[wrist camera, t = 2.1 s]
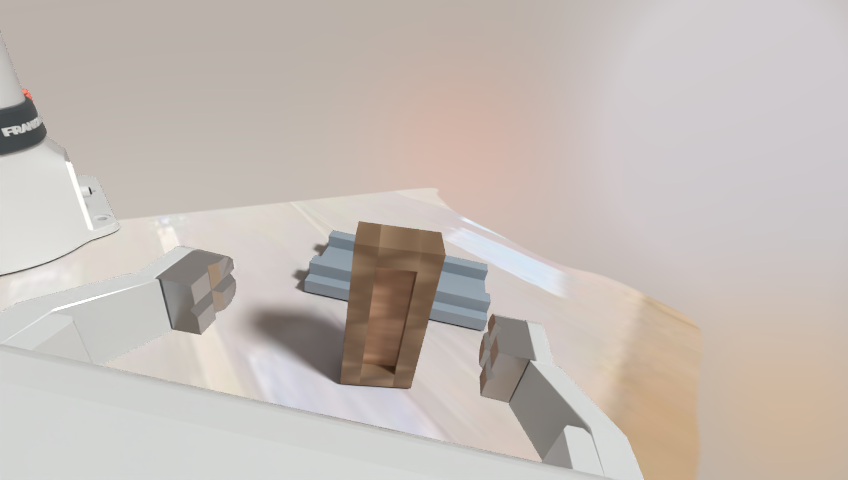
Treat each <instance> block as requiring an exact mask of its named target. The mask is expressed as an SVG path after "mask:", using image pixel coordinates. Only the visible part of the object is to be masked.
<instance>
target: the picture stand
mask: <svg viewBox="0 0 848 480" xmlns="http://www.w3.org/2000/svg"><path fill="white" fill-rule="evenodd" d="M355 237H356V235H352V234H348V233H343V232H339V231H334V230H333V231H332V232H331V234H330V235H329V244H328V247H327V249H326V250H325V252H324V253H323V255H322V256H317V255H315V256H314V257H313V258H312V260H311V261H310V265H309V275H308V276H307V277H306V279H305V288H304V291H307V292H311V293H316V294H320V295H325V296H329V297H334V298H338V299H343V300H347V301H348V299H349V289H350V279H351V269H352V259H353V249H354V242H355ZM487 272H488V269H487V264H483V263H479V262H474V261H470V260H465V259H461V258H456V257H451V256H447V255H446V256H445V260H444V264H443V268H442V271H441V275H440V279H439V283H438V286H437V290H436V294H435V298H434V302H433V305H432V309H431V313H430V317H429V319H433V320H437V321H442V322H446V323H451V324H455V325H460V326H464V327H469V328H473V329H478V330H482V331H483V330H484V328H485V325H486V322H487V310H488V308H489V305H490V294H488V293H485V283H484V280H485V277H486V275H487Z"/></svg>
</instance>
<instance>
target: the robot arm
mask: <svg viewBox="0 0 848 480" xmlns="http://www.w3.org/2000/svg"><path fill="white" fill-rule="evenodd" d="M46 133H47V132H46V128H45V126H44V124H43V122H42V117H41V115H40V113H39V111H38V110H37V109H36V108H35V106H34V104H33V101H32V98H31V96H30V93H29V92H28V90H27V89H22V88H21V86H20V83H19V80H18V78H17V75H16V72H15V69H14V67H13V64H12V61H11V59H10V56H9V53H8V51H7V48H6V45H5V43H4V40H3V38H2V35H1V32H0V275H2V274H7V273H11V272H15V271H19V270H23V269H27V268H30V267H33V266H37V265H40V264H43V263H46V262H48V261H51V260H54V259H56V258H58V257H61V256H63V255H65V254H67V253H69V252H71V251H73V250H74V249H76V248H78V247H79V246H81V245H83V244H85V243H86V242H88V241H90V240H93V239H96V238H99V237H102V236H105V235H108V234H111V233H113V232H115V231H117V230H118V229H119V224H118V222H117V220H116V218H115V216H114V213H113V211H112V209H111V207H110V205H109V202H108V200H107V198H106V196H105V194H104V192H103V189H102V187H101V185H100V183H99V181H98V179H97V178H94V177H89V176H82V175H75V172H74V169H73V166H72V163H70V160H69V158H68V155H67V152H66V150H65V149H64V148H63V147H61V146H60V145H58V144H57V143H56V142H54V141H53V140H52V139H50V138H49V137H47V136H46ZM233 269H234V265H233V259H231V258H230V257H228V256H224V255H220V254H216V253H212V252H207V251H203V250H199V249H194V248H190V247H185V246H177V247H175V248H174V249H172V250H171V251H169V252H168V253H166V254H165V255H163V256H162V257H160V258H159V259H157V260H156V261H154V262H153V263H151V264H150V265H149V266H147V267H146V268H144V269H143V270H141V271H140V272H138V273H137V274H131V273H129V274H125V275H121V276H118V277H114V278H110V279H106V280H102V281H99V282H95V283H91V284H87V285H83V286H79V287H76V288H72V289H68V290H64V291H60V292H56V293H53V294H49V295H45V296H41V297H37V298H34V299H30V300H26V301H22V302H18V303H16V304H14V305H12V306H10V307H8V308H7V309H5V310H3V311H1V312H0V480H644V478H643V475H642V473H641V471H640V468H639V466H638V463H637V461H636V458H635V456H634V453H633V451H632V449H631V446H630V444H629V441H628V439H627V437H626V436H625V435H624V434H623V433H622V431H621V430H620V429H619V428H618V427H617V426H616V425H615V424H614V423H613V422H612V421H611V420H610V419H609V418H608V417H607V416H606V415H605V414H604V413H603V412H602V411H601V410H600V408H599V407H598V406H597V405H596V404H595V403H594V402H593V401H592V400H591V399H590V398H589V397H588V396H587V395H586V394H585V393H584V392H583V391H582V390H581V389H580V388H579V387H578V385H577V384H576V383H575V382H574V381H573V380H572V379H571V378H570V377H569V376H568V375H567V374H566V373H565V372H564V371H563V370H562V369H561V368H560V367H559V366H555V365H554V362H553V358H552V355H551V351H550V348H549V344H548V340H547V337H546V333H545V330H544V326H543V325H542V324H541V323H536V322H531V321H526V320H525V321H524V320H519V319H514V318H510V317H505V316H500V315H495V314H492V316H491V317H490V320H489V322H488V332H487V333H485V334H484V336H483V339H482V342H481V346H480V353H479V365H480V366H481V367H482V369H483V370H482V372H481V375H480V393H481V396H483V397H487V398H491V399H495V400H499V401H503V402H507V403H509V406H510V407H511V409H512V411H513V412H514V414H515V416H516V417H517V419H518V421H519V422H520V424H521V426H522V427H523V429H524V431H525V432H526V434H527V436H528V437H529V439H530V441H531V442H532V444H533V446H534V447H535V449H536V451H537V452H538V454H539V456H540V457H541V459H542V462H536V461H532V460H527V459H523V458H518V457H514V456H509V455H505V454H500V453H495V452H491V451H486V450H482V449H477V448H473V447H468V446H464V445H459V444H455V443H450V442H446V441H441V440H436V439H432V438H427V437H423V436H418V435H414V434H409V433H405V432H400V431H395V430H391V429H386V428H382V427H377V426H373V425H368V424H364V423H359V422H354V421H350V420H345V419H341V418H336V417H332V416H327V415H323V414H318V413H314V412H309V411H304V410H300V409H295V408H291V407H286V406H282V405H277V404H273V403H268V402H264V401H259V400H254V399H250V398H245V397H241V396H236V395H232V394H227V393H223V392H218V391H214V390H209V389H204V388H200V387H195V386H191V385H186V384H182V383H177V382H173V381H168V380H163V379H159V378H154V377H150V376H145V375H141V374H136V373H132V372H127V371H123V370H118V369H113V368H109V367H104V366H102V365H104V364H106V363H108V362H110V361H112V360H114V359H116V358H118V357H120V356H122V355H124V354H126V353H128V352H130V351H132V350H134V349H136V348H138V347H140V346H142V345H144V344H146V343H148V342H150V341H152V340H154V339H156V338H158V337H160V336H162V335H164V334H166V333H168V332H170V331H172V330H171V329H173V330H178V331H183V332H189V333H194V334H199V335H201V334H202V333H203V332H204V331H205V330H206V329H207V328H208V327H209V326H210V325H211V323H212V322H213V321H214V320H215V319H216V317H215V313H216V312H219V311H221V310H224V309H225V308H226V307H227V306H228V305H229V304H230V303H231V301H232V299H233V297H234V295H235V290H236V281H235V279H234V278H233V276H232V275H231V274H230V272H231V271H232V270H233Z"/></svg>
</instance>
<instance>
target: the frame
mask: <svg viewBox="0 0 848 480" xmlns="http://www.w3.org/2000/svg"><path fill="white" fill-rule="evenodd" d="M445 256H446V254H445V249H444V244H443V239H442V234H441V232H433V231H426V230H419V229H411V228H404V227H396V226H389V225H382V224H374V223H367V222H359V223H358V228H357V232H356V237H355V242H354V249H353V259H352V269H351V279H350V289H349V299H348V309H347V319H346V329H345V339H344V349H343V359H342V369H341V379H340V384H352V385H367V386H383V387H398V388H411V385H412V381H413V377H414V373H415V370H416V366H417V362H418V358H419V354H420V351H421V347H422V343H423V339H424V336H425V332H426V328H427V324H428V320H429V317H430V313H431V309H432V305H433V302H434V298H435V294H436V290H437V286H438V283H439V279H440V275H441V271H442V268H443V264H444V260H445Z"/></svg>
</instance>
